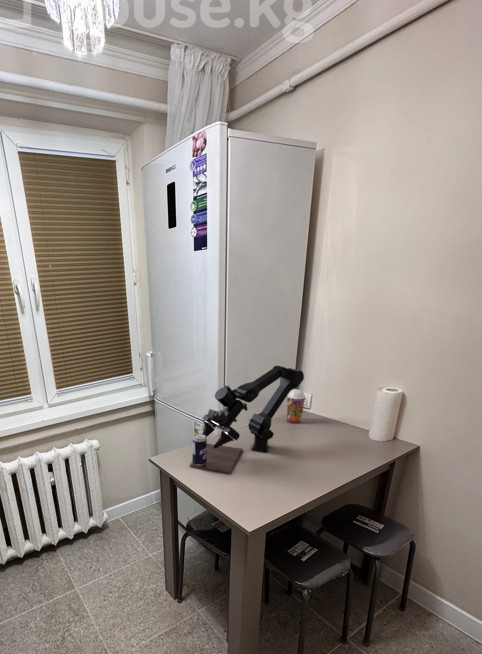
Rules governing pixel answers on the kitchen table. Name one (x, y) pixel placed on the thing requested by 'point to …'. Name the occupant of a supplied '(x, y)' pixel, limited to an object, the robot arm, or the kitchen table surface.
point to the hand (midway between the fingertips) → (207, 443)
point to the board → (220, 459)
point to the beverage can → (199, 449)
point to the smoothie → (295, 405)
